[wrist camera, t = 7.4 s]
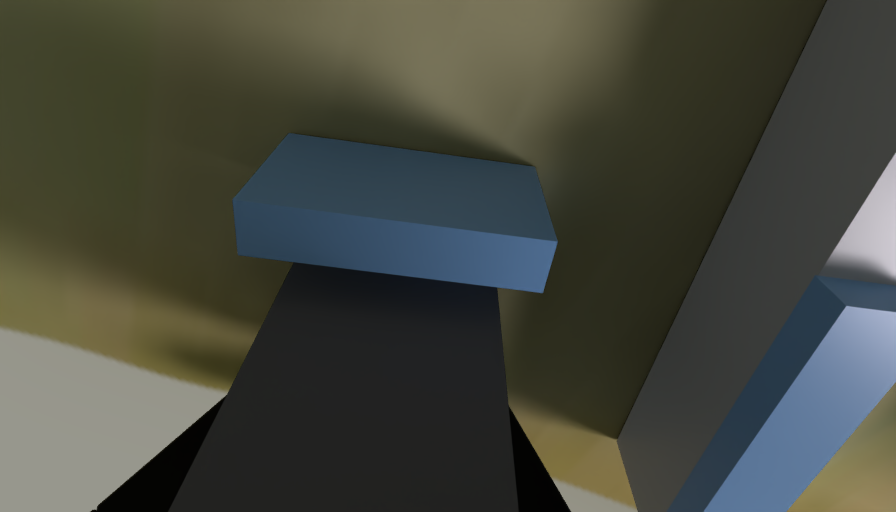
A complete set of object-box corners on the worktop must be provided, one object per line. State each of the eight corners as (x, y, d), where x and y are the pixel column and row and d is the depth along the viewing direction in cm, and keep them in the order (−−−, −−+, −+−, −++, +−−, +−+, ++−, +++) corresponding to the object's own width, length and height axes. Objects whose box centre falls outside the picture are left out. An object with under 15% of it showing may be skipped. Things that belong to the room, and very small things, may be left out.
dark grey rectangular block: (496, 282, 10) (535, 681, 5) (466, 416, 13) (469, 797, 7) (295, 257, 10) (100, 646, 5) (300, 397, 12) (169, 775, 7)
